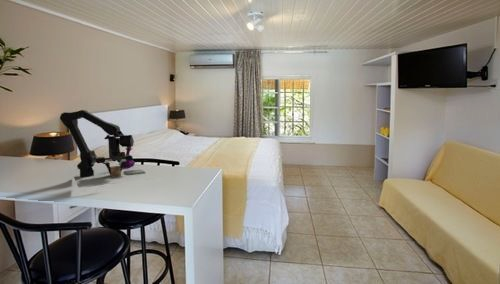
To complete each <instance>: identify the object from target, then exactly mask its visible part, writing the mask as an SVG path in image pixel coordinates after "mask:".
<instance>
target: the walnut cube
mask: <svg viewBox="0 0 500 284" xmlns="http://www.w3.org/2000/svg"><path fill="white" fill-rule="evenodd" d="M110 170H111V174H110V173H109V176H110V177H111V178H112V177H120V176H122V171H121V167H120V165H115V166H110Z"/></svg>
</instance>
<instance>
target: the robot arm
mask: <svg viewBox="0 0 500 284" xmlns="http://www.w3.org/2000/svg"><path fill="white" fill-rule="evenodd" d="M59 119H60V121H61V122H62V124H63V125H64V126H65V127H66V128H67V129H68V131H69V132H70V134H71V137H72V139H73V141H74V142H75V144H76V147H77V149H78V151H79V158H80V162H79V163H78V164H77V166H76V167H77V169H78V170H79V178H89V177H94V176H95V170H94V169H93V167H94V166H95V164H103V165H105V167H106V168H107V171H108V173H109V175H110V174H111V170H110V167H111V166H110V162H111V161H112V162H116V161H117V162H119V163H120V165H119V166H120V167H121V172H123V165H124V164H125V162H127V161H132V160H133V161H134V159H133V155H131V154H129V155H126V152H125V151H121V149H120V146H121V147H122V148H127V147H131V148H132V147H133V146H134V138H133V134H126V135H125V134H124V133H123V132H122V131H121V128H120V126H119V125H118V124H114V123H112V122H108V121H105V120H103V119H102V118H100V117H99V116H96V115H95V114H92V113H91V112H89V111H88V110H86V109H84V110H83V109H82V110H77V111H72V112H62V113H60V116H59ZM80 119H85V120H87V121H88V122H90V123H92V124H93V125H95V126H97V127H99V128H101V129H102V130H103V131H104V132H105V133H106V136H105V137H104V138H103V140H107V141H108V143H107V144H108V157H105V156H98V155H96V152H95V150H90V148H89V146H88V145H87V142H86V140H85V138H84V137H83V134H82V132H81V130H80V128H79V125H78V124H79V122H78V121H79V120H80ZM126 160H127V161H126Z"/></svg>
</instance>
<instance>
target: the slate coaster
mask: <svg viewBox="0 0 500 284" xmlns="http://www.w3.org/2000/svg"><path fill="white" fill-rule="evenodd" d="M123 173H124V174H125V175H127V176H131V175H132V176H133V175H141V174H146V171H145V170H143V169H131V170H124V171H123Z"/></svg>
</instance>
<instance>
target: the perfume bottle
mask: <svg viewBox="0 0 500 284" xmlns="http://www.w3.org/2000/svg"><path fill="white" fill-rule="evenodd" d="M125 150H126V152H125V155H130V152H131V150H133V148H132V147H125ZM126 161H127V160H126ZM135 164H136V162H135V161H134V159H133V160H132V161H127V162H125V164H124V165H123V168H127V169H129V168H131V167H134V165H135ZM118 166H120V162H119V163H118ZM123 168H122V169H123Z"/></svg>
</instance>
